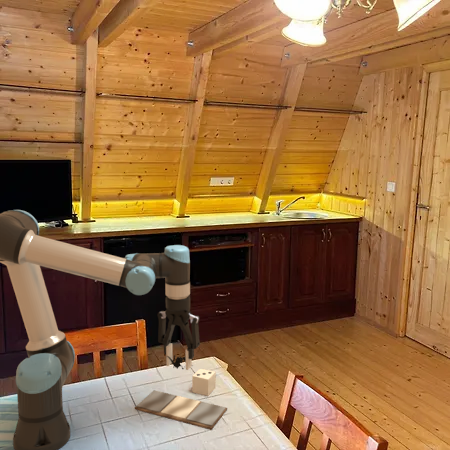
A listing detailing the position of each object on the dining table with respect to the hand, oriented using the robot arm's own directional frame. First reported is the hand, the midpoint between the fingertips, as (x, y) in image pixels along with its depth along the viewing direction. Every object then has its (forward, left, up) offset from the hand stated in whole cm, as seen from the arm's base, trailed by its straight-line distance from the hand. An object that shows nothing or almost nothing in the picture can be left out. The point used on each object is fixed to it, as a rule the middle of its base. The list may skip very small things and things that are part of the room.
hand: (179, 365), depth 149 cm
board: (+1, 0, -14) cm, 15 cm away
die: (+2, +14, -14) cm, 20 cm away
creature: (0, +1, -1) cm, 1 cm away
